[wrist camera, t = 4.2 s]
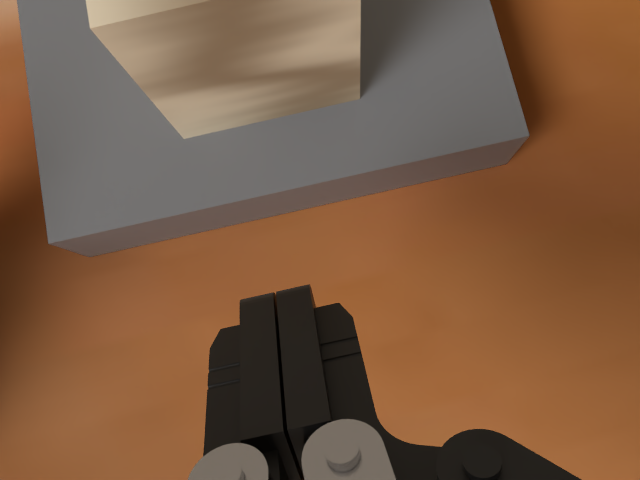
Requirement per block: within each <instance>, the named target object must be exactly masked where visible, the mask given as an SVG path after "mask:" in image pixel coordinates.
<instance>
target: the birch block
mask: <svg viewBox="0 0 640 480" xmlns="http://www.w3.org/2000/svg"><path fill="white" fill-rule="evenodd" d="M86 6H87V12H88V19H89V26H90V29H91V30H92V31H93V33H94V34H95V35H96V36H97V37H98V39H99V40H100V41H101V42H102V43H103V44H104V46H105V47H106V48H107V49H108V50H109V51H110V53H111V54H112V55H113V56H114V57H115V59H116V60H117V61H118V62H119V63H120V64H121V66H122V67H123V68H124V69H125V70H126V71H127V73H128V74H129V75H130V76H131V77H132V79H133V80H134V81H135V82H136V83H137V84H138V86H139V87H140V88H141V89H142V90H143V92H144V93H145V94H146V95H147V96H148V97H149V99H150V100H151V101H152V102H153V103H154V104H155V106H156V107H157V108H158V109H159V110H160V112H161V113H162V114H163V115H164V116H165V117H166V119H167V120H168V121H169V122H170V123H171V125H172V126H173V127H174V128H175V129H176V130H177V132H178V133H179V134H180V135H181V136H182V137H183V139H186V138H191V137H195V136H200V135H204V134H208V133H213V132H217V131H222V130H226V129H230V128H235V127H239V126H244V125H248V124H252V123H257V122H261V121H266V120H270V119H274V118H279V117H283V116H288V115H292V114H296V113H301V112H305V111H309V110H314V109H318V108H323V107H327V106H331V105H336V104H340V103H345V102H349V101H353V100H358V99H360V33H361V0H86Z"/></svg>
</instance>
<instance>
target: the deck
mask: <svg viewBox="0 0 640 480" xmlns="http://www.w3.org/2000/svg"><path fill="white" fill-rule="evenodd" d="M17 4H18V12H19V20H20V28H21V35H22V43H23V51H24V59H25V66H26V74H27V82H28V90H29V97H30V105H31V113H32V121H33V128H34V136H35V144H36V152H37V159H38V167H39V175H40V183H41V191H42V198H43V206H44V214H45V222H46V229H47V237H48V244H51V245H54V246H57V247H60V248H63V249H66V250H69V251H72V252H75V253H78V254H81V255H84V256H87V257H92V256H97V255H101V254H106V253H110V252H115V251H119V250H124V249H128V248H132V247H137V246H141V245H146V244H150V243H155V242H159V241H164V240H168V239H173V238H177V237H182V236H186V235H191V234H195V233H200V232H204V231H209V230H213V229H218V228H222V227H226V226H231V225H235V224H240V223H244V222H249V221H253V220H258V219H262V218H267V217H271V216H276V215H280V214H285V213H289V212H294V211H298V210H303V209H307V208H311V207H316V206H320V205H325V204H329V203H334V202H338V201H343V200H347V199H352V198H356V197H361V196H365V195H370V194H374V193H379V192H383V191H388V190H392V189H397V188H401V187H405V186H410V185H414V184H419V183H423V182H428V181H432V180H437V179H441V178H446V177H450V176H455V175H459V174H464V173H468V172H473V171H477V170H482V169H486V168H491V167H495V166H499V165H504V164H507V163H508V162H509V160H510V159H511V158H512V157H513V155H514V154H515V153H516V152H517V151H518V149H519V148H520V147H521V146H522V145H523V143H524V142H525V141H526V140H527V138H528V137H529V136H530V135H529V132H528V128H527V125H526V122H525V118H524V115H523V111H522V108H521V105H520V101H519V98H518V94H517V91H516V88H515V84H514V81H513V78H512V74H511V71H510V67H509V64H508V61H507V57H506V54H505V50H504V47H503V44H502V40H501V37H500V33H499V30H498V27H497V23H496V20H495V17H494V13H493V10H492V6H491V3H490V0H361V33H360V99H358V100H353V101H349V102H345V103H340V104H336V105H331V106H327V107H323V108H318V109H314V110H309V111H305V112H301V113H296V114H292V115H288V116H283V117H279V118H274V119H270V120H266V121H261V122H257V123H252V124H248V125H244V126H239V127H235V128H230V129H226V130H222V131H217V132H213V133H208V134H204V135H200V136H195V137H191V138H186V139H183V137H182V136H181V135H180V134H179V133H178V132H177V130H176V129H175V128H174V127H173V126H172V125H171V123H170V122H169V121H168V120H167V119H166V117H165V116H164V115H163V114H162V113H161V112H160V110H159V109H158V108H157V107H156V106H155V104H154V103H153V102H152V101H151V100H150V99H149V97H148V96H147V95H146V94H145V93H144V92H143V90H142V89H141V88H140V87H139V86H138V84H137V83H136V82H135V81H134V80H133V79H132V77H131V76H130V75H129V74H128V73H127V71H126V70H125V69H124V68H123V67H122V66H121V64H120V63H119V62H118V61H117V60H116V59H115V57H114V56H113V55H112V54H111V53H110V51H109V50H108V49H107V48H106V47H105V46H104V44H103V43H102V42H101V41H100V40H99V39H98V37H97V36H96V35H95V34H94V33H93V31H92V30H91V29H90V26H89V19H88V12H87V6H86V0H17Z"/></svg>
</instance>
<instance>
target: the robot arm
mask: <svg viewBox="0 0 640 480" xmlns="http://www.w3.org/2000/svg"><path fill="white" fill-rule="evenodd" d="M188 480H581V479H579V478H578V477H576V476H574V475H572V474H571V473H569V472H567V471H566V470H564V469H562V468H560V467H559V466H557V465H555V464H553V463H552V462H550V461H548V460H547V459H545V458H543V457H541V456H540V455H538V454H536V453H534V452H533V451H531V450H529V449H528V448H526V447H524V446H522V445H521V444H519V443H517V442H515V441H514V440H512V439H510V438H508V437H507V436H505V435H503V434H501V433H498V432H495V431H491V430H486V429H472V430H467V431H463V432H460V433H458V434H456V435H454V436H453V437H451V438H450V439H449V440H448V441H447V442H446V443H445V444H444V445H443V446H442V447H435V446H424V445H415V444H410V443H407V442H404V441H401V440H399V439H397V438H395V437H394V436H392V435H391V434H390V433H388V432H387V431H386V430H385V429H384V428H383V426H382V425H381V424H380V422H379V420H378V418H377V415H376V412H375V408H374V404H373V399H372V395H371V391H370V387H369V383H368V379H367V375H366V370H365V366H364V362H363V358H362V354H361V350H360V346H359V341H358V337H357V333H356V329H355V325H354V321H353V317H352V316H351V315H350V314H349V313H348V312H347V311H346V310H345V309H344V308H343V307H342V305H341V304H340V303H335V304H331V305H326V306H322V307H317V308H316V306H315V302H314V298H313V294H312V290H311V287H310V284H309V285H304V286H300V287H295V288H291V289H286V290H282V291H277V292H276V295H275V293H269V294H265V295H260V296H256V297H251V298H247V299H242V300H240V325H237V326H232V327H228V328H223V329H220V331H219V333H218V335H217V337H216V338H215V340H214V342H213V344H212V346H211V348H210V355H209V373H208V390H207V406H206V423H205V440H204V453H203V458H201V459H200V460H199V461H198V463H197V464H196V465H195V466H194V468H193V470H192V471H191V473H190V475H189V478H188Z"/></svg>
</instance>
